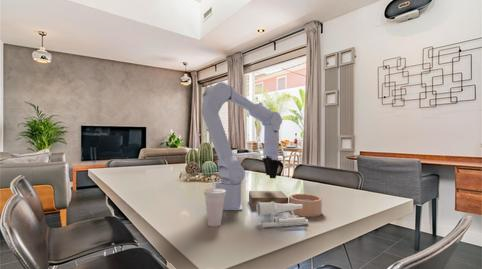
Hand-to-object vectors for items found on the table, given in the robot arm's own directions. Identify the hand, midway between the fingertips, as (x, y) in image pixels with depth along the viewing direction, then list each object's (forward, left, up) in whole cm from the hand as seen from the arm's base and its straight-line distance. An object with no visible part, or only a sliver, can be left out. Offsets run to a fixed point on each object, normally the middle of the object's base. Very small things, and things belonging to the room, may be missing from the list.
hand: (270, 176), depth 97 cm
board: (-2, -5, -10) cm, 11 cm away
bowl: (+10, -14, -10) cm, 19 cm away
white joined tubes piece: (-1, -25, -10) cm, 27 cm away
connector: (+9, -13, -9) cm, 19 cm away
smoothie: (-21, -25, -10) cm, 34 cm away
